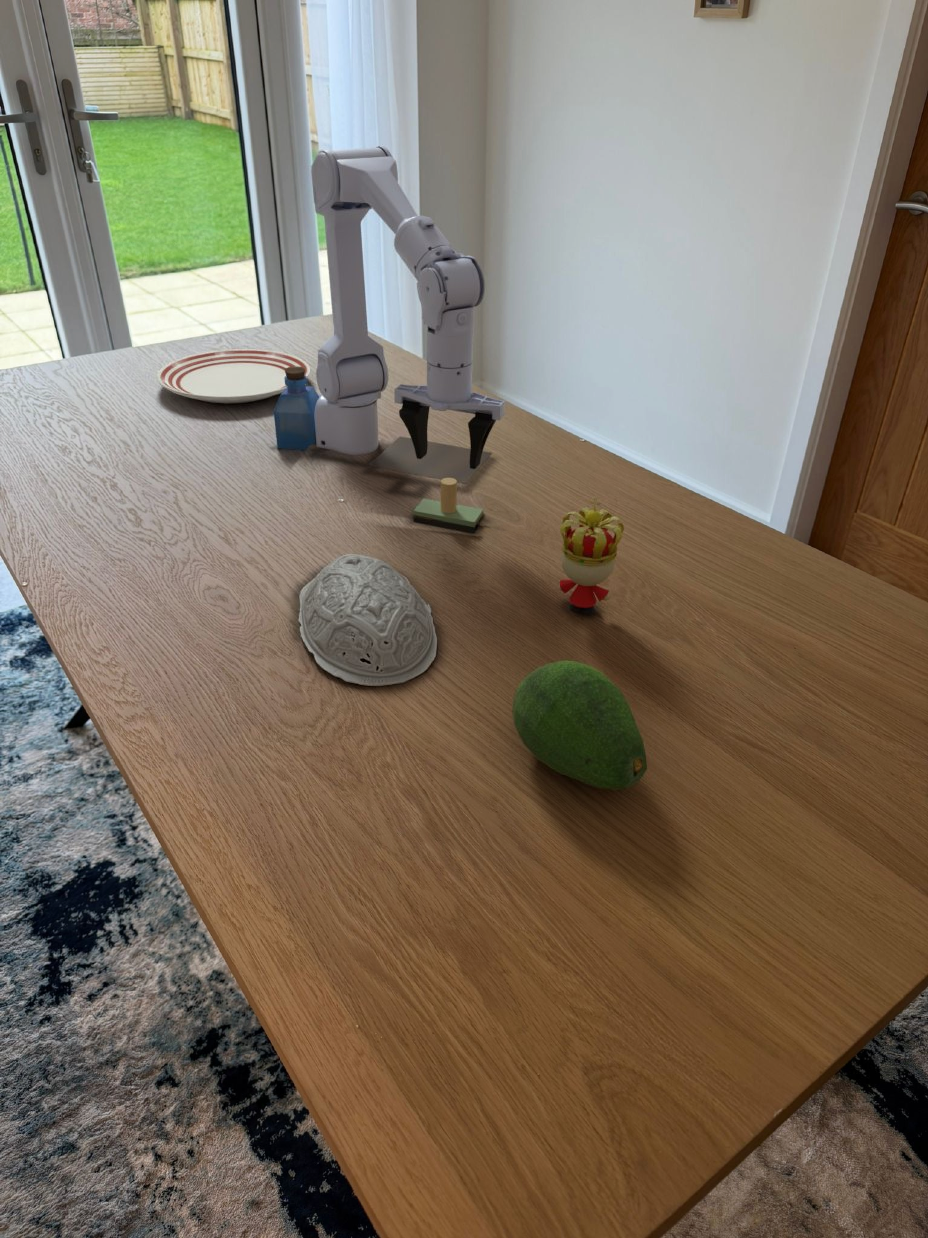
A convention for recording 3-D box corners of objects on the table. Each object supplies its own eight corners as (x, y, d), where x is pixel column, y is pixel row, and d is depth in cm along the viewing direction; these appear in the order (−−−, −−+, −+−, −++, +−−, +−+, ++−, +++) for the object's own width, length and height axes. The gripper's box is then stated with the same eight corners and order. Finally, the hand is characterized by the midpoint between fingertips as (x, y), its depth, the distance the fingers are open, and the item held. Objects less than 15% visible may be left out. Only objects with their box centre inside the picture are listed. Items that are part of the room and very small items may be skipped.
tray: (368, 472, 137) (367, 465, 137) (400, 442, 147) (399, 436, 146) (465, 491, 133) (465, 483, 132) (492, 459, 142) (492, 452, 141)
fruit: (666, 798, 83) (683, 716, 77) (576, 836, 79) (588, 753, 73) (573, 703, 93) (583, 625, 88) (491, 732, 89) (495, 653, 84)
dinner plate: (172, 362, 175) (169, 345, 173) (313, 360, 178) (312, 344, 176) (147, 416, 153) (143, 398, 151) (308, 413, 156) (307, 395, 154)
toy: (617, 600, 110) (633, 490, 101) (605, 632, 104) (621, 518, 95) (560, 589, 111) (571, 479, 103) (545, 620, 106) (556, 507, 97)
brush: (413, 522, 125) (412, 481, 121) (423, 509, 128) (423, 469, 124) (474, 533, 122) (475, 492, 119) (483, 520, 126) (484, 480, 122)
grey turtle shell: (315, 692, 93) (317, 638, 89) (285, 578, 113) (286, 530, 110) (457, 681, 97) (464, 629, 94) (404, 574, 118) (408, 527, 114)
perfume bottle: (324, 435, 148) (319, 364, 142) (315, 450, 143) (309, 377, 136) (287, 432, 149) (280, 361, 142) (277, 448, 144) (269, 375, 137)
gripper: (383, 362, 111) (386, 463, 118) (493, 379, 107) (489, 482, 114) (406, 345, 116) (407, 443, 124) (512, 361, 112) (506, 461, 120)
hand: (448, 460), depth 120 cm, fingers open, 7 cm apart
